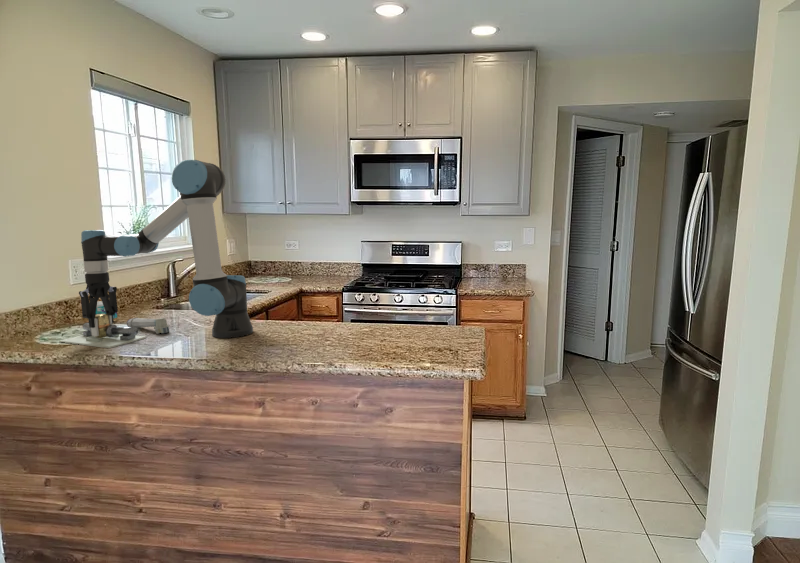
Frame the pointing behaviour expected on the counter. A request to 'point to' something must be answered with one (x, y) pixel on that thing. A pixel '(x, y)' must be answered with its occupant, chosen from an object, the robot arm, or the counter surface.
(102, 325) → the gold upright block
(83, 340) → the board
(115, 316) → the mug
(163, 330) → the grey hammer
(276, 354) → the counter surface
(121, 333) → the shaft
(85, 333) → the shaft
